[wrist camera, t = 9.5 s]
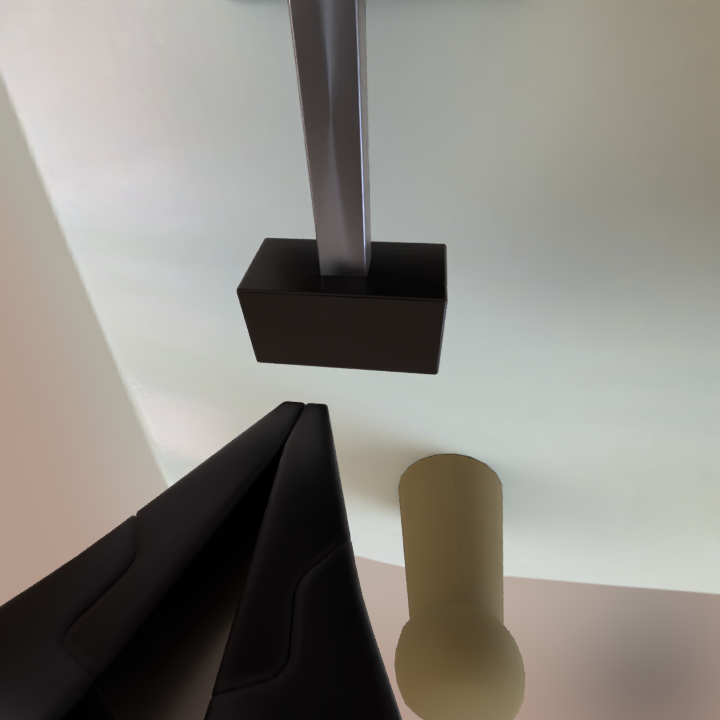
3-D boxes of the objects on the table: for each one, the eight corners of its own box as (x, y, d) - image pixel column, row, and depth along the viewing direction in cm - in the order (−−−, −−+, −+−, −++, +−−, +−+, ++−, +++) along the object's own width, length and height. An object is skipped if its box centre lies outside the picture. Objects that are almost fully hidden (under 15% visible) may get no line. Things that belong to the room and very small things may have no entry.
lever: (438, 316, 14) (438, 375, 12) (279, 307, 14) (256, 363, 13) (557, -707, 4) (635, -1144, 3) (85, -605, 5) (-117, -905, 3)
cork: (476, 535, 27) (499, 763, 18) (385, 508, 27) (362, 724, 18) (522, 473, 24) (578, 712, 15) (418, 441, 24) (411, 664, 15)
